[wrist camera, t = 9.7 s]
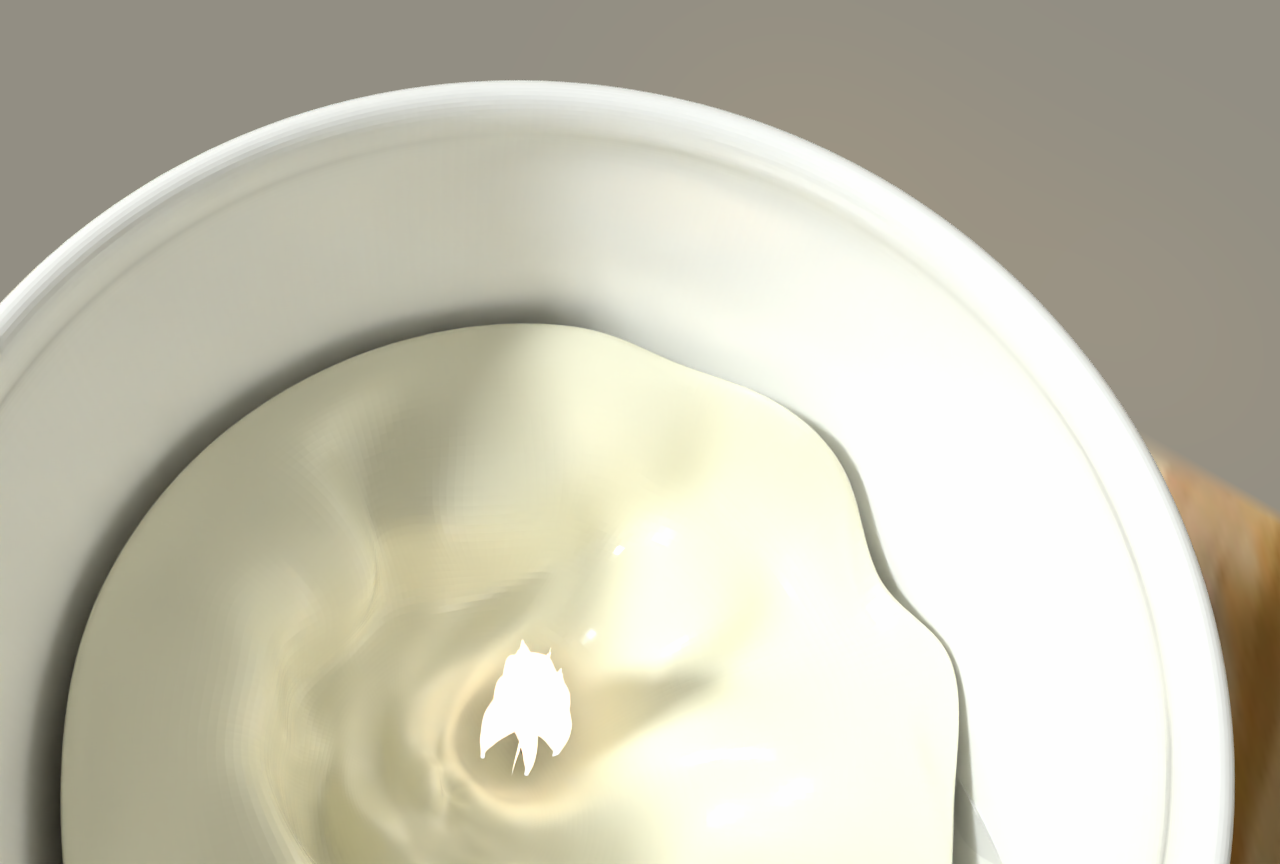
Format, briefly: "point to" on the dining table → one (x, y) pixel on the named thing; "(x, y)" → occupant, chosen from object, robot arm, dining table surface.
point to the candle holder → (577, 516)
